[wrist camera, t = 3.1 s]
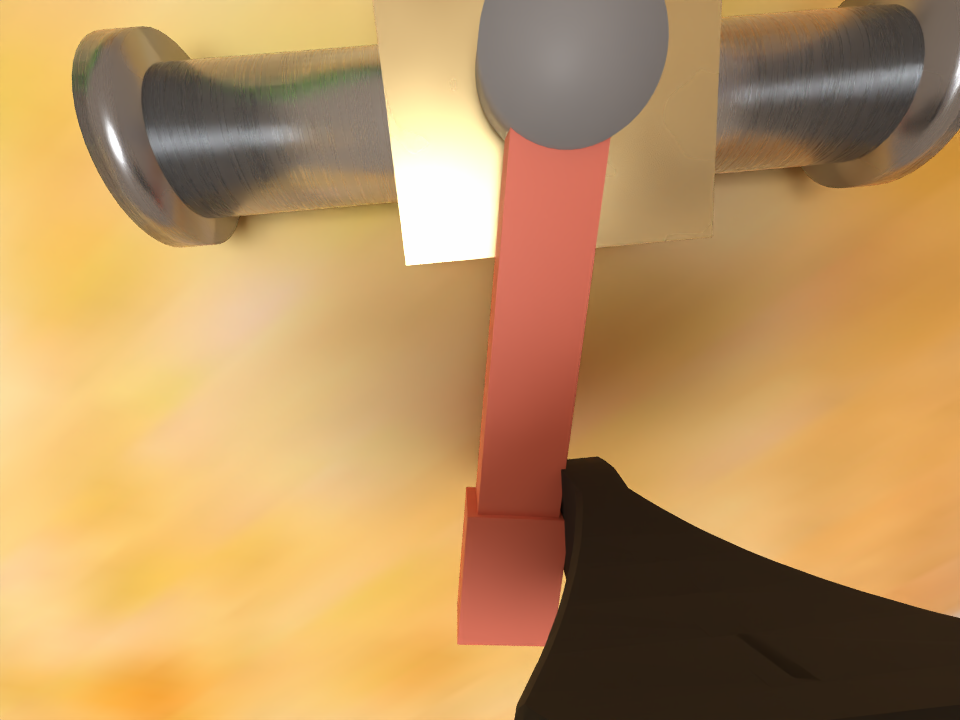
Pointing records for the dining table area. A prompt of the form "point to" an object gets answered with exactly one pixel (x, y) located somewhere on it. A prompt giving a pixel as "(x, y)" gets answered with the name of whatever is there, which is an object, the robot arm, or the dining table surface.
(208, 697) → the dining table surface
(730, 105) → the valve body
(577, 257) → the lever
